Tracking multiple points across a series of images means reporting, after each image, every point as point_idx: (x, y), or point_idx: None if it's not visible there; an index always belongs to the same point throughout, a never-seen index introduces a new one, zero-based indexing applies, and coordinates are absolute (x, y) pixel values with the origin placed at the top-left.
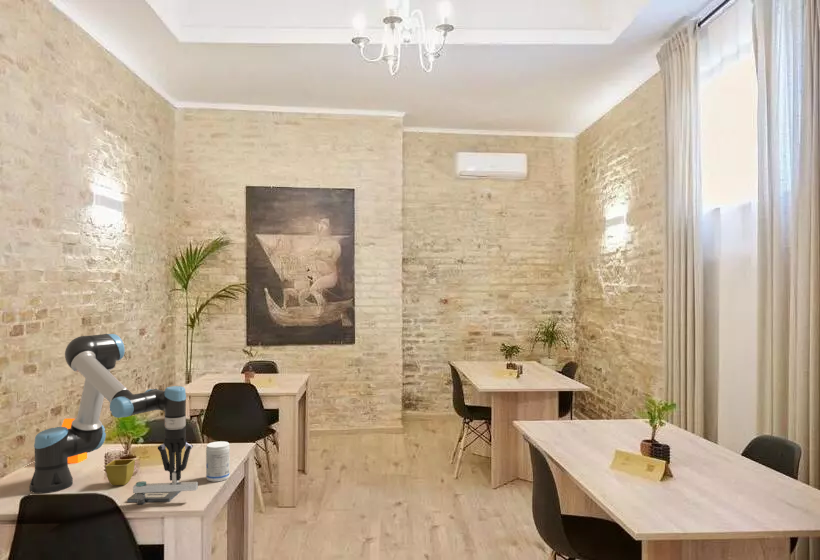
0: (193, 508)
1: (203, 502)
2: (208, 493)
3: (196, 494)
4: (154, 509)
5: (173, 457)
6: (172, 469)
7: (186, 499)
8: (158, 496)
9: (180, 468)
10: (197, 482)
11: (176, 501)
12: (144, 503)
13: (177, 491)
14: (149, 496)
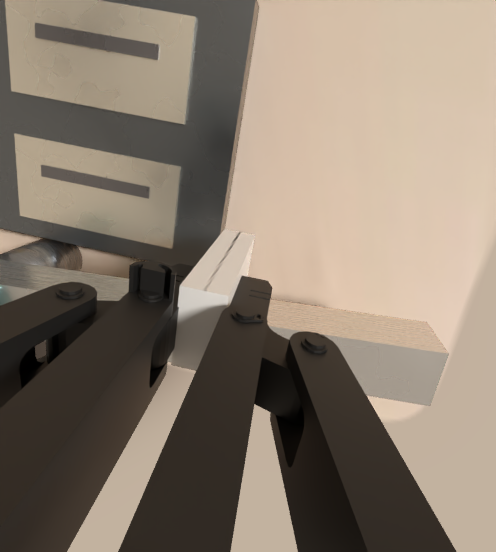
0: (378, 407)
1: (438, 335)
2: (484, 158)
3: (387, 161)
4: (168, 362)
5: (57, 520)
6: (158, 385)
7: (322, 252)
8: (131, 227)
9: (266, 405)
10: (444, 355)
11: (262, 273)
12: (80, 267)
13: (237, 125)
14: (71, 213)
